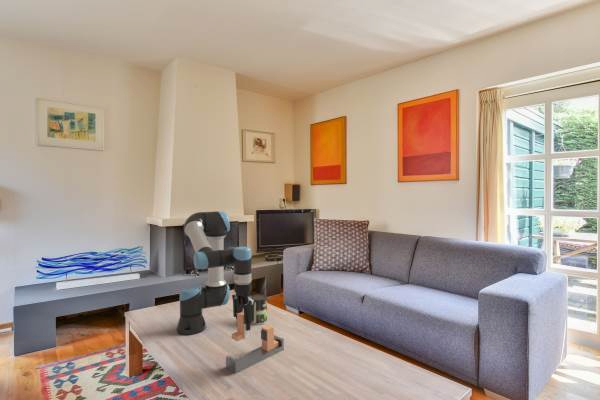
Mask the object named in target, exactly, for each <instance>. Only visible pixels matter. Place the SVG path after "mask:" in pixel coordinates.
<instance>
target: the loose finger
mask: <svg viewBox="0 0 600 400" xmlns="http://www.w3.org/2000/svg"><path fill="white" fill-rule="evenodd" d="M244 322H245V318H244V311H243V312H241V313H238V314H237V319H236V327H237V330H236V332H233V333H231V339H232V340H233V341H236V342H239V341H241V340H244V339H245V338H244ZM250 325H252V324H251V323H250Z"/></svg>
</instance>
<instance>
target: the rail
mask: <svg viewBox="0 0 600 400" xmlns="http://www.w3.org/2000/svg"><path fill="white" fill-rule="evenodd" d="M274 340H276V341H278V342H279V346H277V347H275V348H273V349H271V350H269V351H266V350H264V349H262V345H261V346H258V347H256V348H255V349H254V348H253V350H251V351H248V352H246V353H244V354H241V355H240V356H237V357H235V358H234V357H232V356H231V355H229V354H227V355H225V368H226V369H227V370H230V371H231V372H232V373H234V374H237V373H240V372H241V371H243V370H246V369H248V368H249V367H251V366H254V365H256V364H257V363H259V362H262V361H264V360H265V359H267V358H270V357H272V356H274V355H276V354H278V353H279V352H282V351H285V350H284V348H285V342H284V340H285V339H284V338H281V337H279V336H277V335H275V334H274Z"/></svg>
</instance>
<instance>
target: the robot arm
mask: <svg viewBox="0 0 600 400" xmlns="http://www.w3.org/2000/svg"><path fill="white" fill-rule="evenodd" d="M183 229H184V234H185V235H186V236H187V237H188V238H189V241H190V242H191V245H192V248H193V250H194V255H193V265H194V268H195V269H196V270H207V281H205V284H204V286H202V285H201V284H193V285H188V286H186V287H183V288H182V289H180V292H179V319H178V322H177V325H176V333H177V334H178V335H183V336H188V335H189V336H190V335H197V334H199V333H201V332H203V331H205V330H206V328H207V327H206V326H207V324H206V320H205V318H204V316H203V310H205V309H209V308H215V307H221V306H225V305H227V304H228V303H229V301H230V295H231V291H230V289H231V288H230V286H229V284H228V283H227V281H226V280H225V278H224V276H225V274H224V271H225V270H224V269H225V267H230V266H231V267H232V266H233V280H234V284H233V285H234V287H233V289H234V290H233V291H234V293H235V294H232V295H231V297H232V309H233V310H232V312H233V313H232V315H233V317H234V318H235V320H237V314H238V313H241V312H244V318H245V322H244V339H248V338H249V337H251V324H250V323H251V322H253V321H254V303H255V300H254V299H253V300H252V299H251V296H252V295H251V292H252V290H253V289H252V286H253V283H252V280H253V279H252V278H253V277H252V275H253V274H252V257H253V256H252V249H251V247H249V246H236V247H234V246H233V247H229V248H227V249H224V248H225V247H224V241H225V240H224V239H225V238H226V236H227V233H228V232H229V231H231V230H230V229H231V224H230V217H229V216H228V214H227V212H225V211H217V210H216V211H199V212H195V213H193V214H191V215H189V216H188V218H187V219H186V220H185V222H184V224H183Z"/></svg>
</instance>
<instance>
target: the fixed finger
mask: <svg viewBox="0 0 600 400" xmlns="http://www.w3.org/2000/svg"><path fill="white" fill-rule="evenodd" d="M274 329H275V327H274V326H272V325H270V324H269V325H268V324H267V325H264V326H262V327H261V330H260V339H261V346H262V349H264V350H266V351H269V350H271V349H273V348H275V347H277V346H279V342H278V341H276V340H274V335H275V333H274V332H275V331H274Z"/></svg>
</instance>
